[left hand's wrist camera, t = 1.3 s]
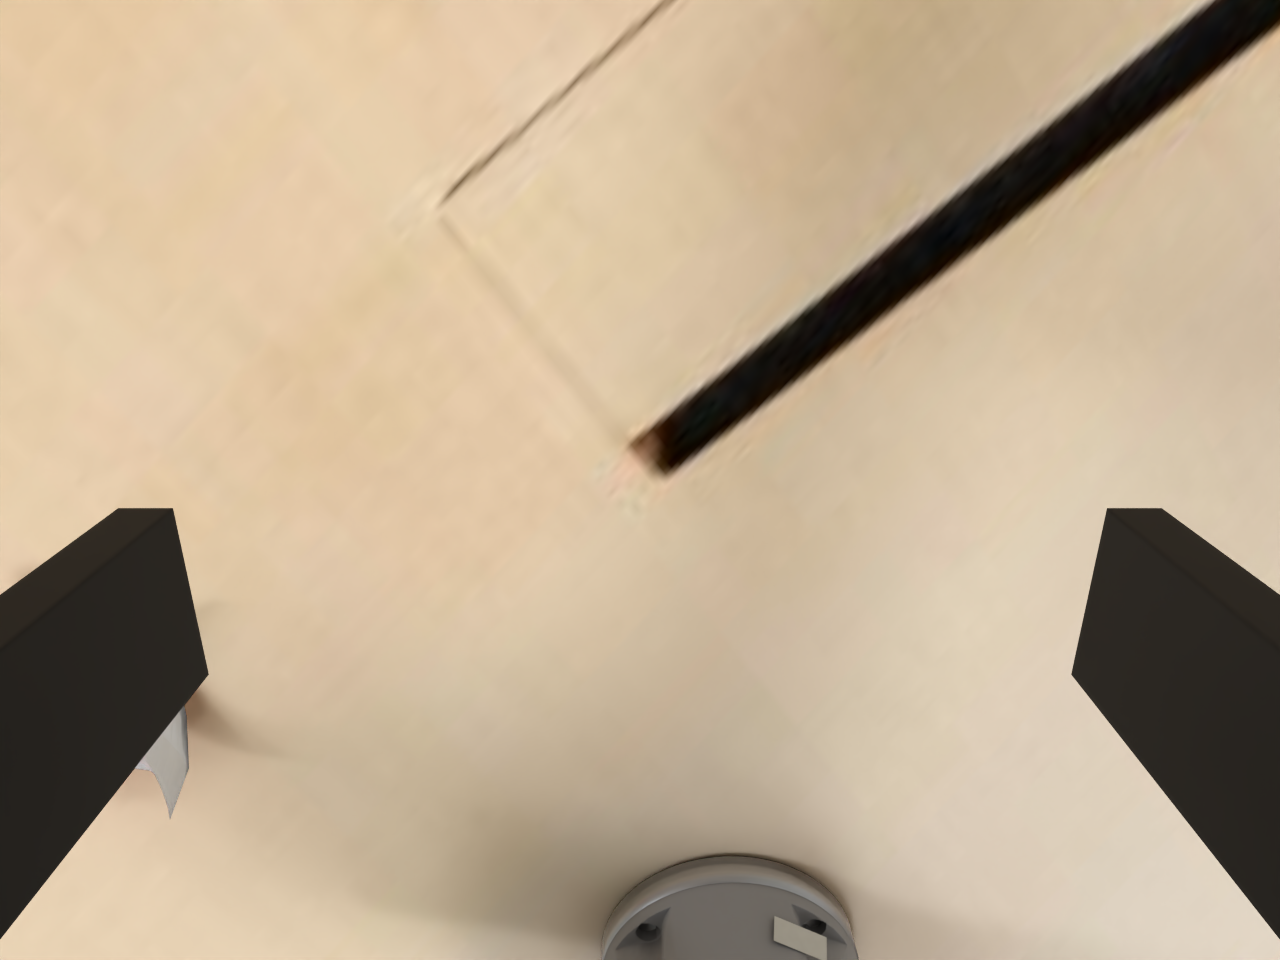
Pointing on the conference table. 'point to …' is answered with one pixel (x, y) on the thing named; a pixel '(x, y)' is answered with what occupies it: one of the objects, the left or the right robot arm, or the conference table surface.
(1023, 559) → the conference table surface
